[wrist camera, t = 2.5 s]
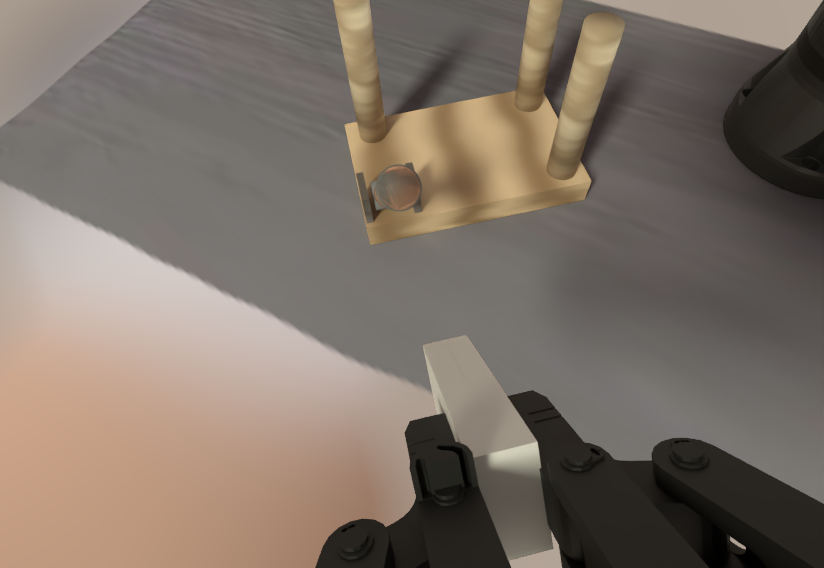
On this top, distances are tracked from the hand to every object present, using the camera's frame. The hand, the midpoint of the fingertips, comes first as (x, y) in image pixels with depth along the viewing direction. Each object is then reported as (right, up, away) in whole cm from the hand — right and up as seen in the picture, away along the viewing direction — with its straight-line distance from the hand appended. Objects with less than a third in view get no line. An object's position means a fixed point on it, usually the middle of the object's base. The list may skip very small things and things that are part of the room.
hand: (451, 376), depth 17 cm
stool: (+3, +14, +31) cm, 34 cm away
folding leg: (-3, +11, +26) cm, 28 cm away
